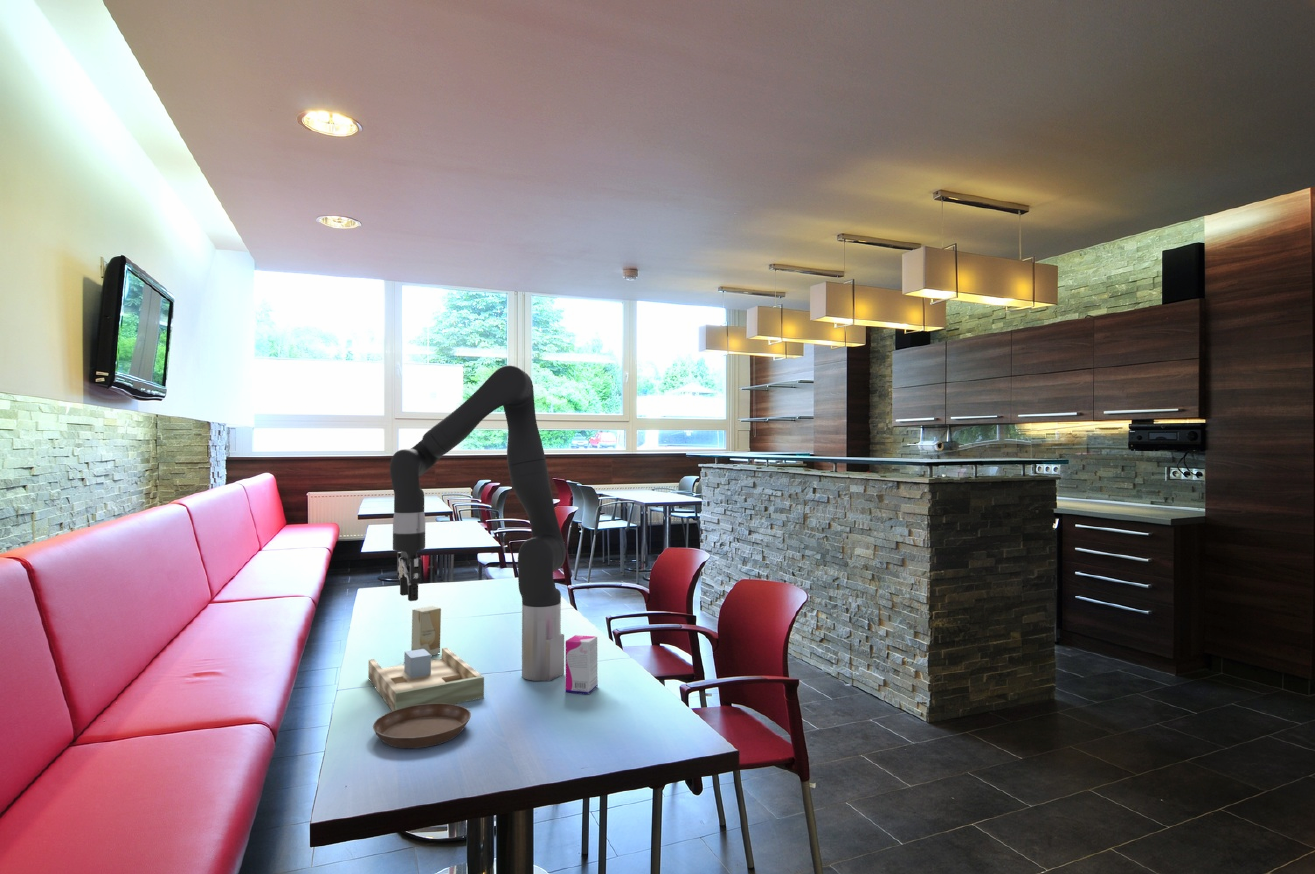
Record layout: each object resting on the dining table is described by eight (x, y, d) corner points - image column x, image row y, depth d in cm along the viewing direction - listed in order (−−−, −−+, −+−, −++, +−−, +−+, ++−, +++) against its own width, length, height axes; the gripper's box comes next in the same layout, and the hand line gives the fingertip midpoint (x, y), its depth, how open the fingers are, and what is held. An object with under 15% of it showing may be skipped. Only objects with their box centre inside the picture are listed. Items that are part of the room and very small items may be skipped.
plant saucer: (374, 724, 138) (374, 708, 138) (466, 712, 144) (466, 697, 144) (371, 761, 121) (371, 743, 121) (475, 746, 127) (475, 729, 128)
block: (430, 674, 161) (430, 654, 161) (410, 677, 159) (410, 658, 159) (423, 667, 166) (423, 648, 166) (404, 671, 164) (404, 651, 164)
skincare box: (420, 659, 179) (420, 611, 179) (410, 656, 182) (410, 609, 182) (441, 653, 184) (441, 607, 185) (431, 650, 187) (431, 605, 187)
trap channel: (483, 697, 151) (483, 677, 151) (395, 715, 141) (396, 693, 141) (446, 665, 174) (446, 647, 174) (368, 679, 164) (368, 659, 164)
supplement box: (598, 686, 159) (598, 635, 159) (588, 695, 153) (589, 642, 153) (574, 684, 160) (574, 634, 161) (564, 692, 155) (564, 640, 155)
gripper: (432, 532, 166) (432, 601, 166) (417, 526, 178) (417, 591, 178) (400, 534, 162) (399, 605, 162) (386, 528, 174) (386, 594, 174)
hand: (408, 597), depth 170 cm, fingers open, 7 cm apart
